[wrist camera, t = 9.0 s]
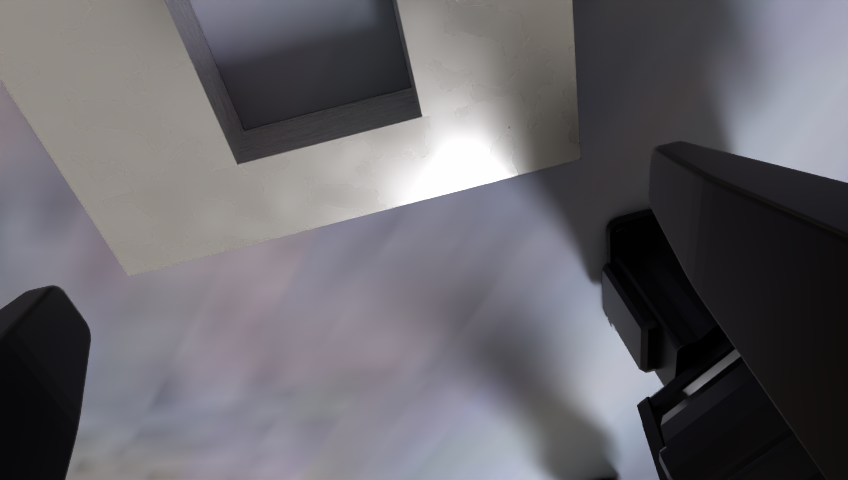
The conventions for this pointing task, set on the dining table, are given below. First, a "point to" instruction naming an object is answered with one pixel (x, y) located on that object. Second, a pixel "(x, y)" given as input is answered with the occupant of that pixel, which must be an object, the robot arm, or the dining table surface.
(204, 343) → the dining table surface
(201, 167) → the square hole plate
